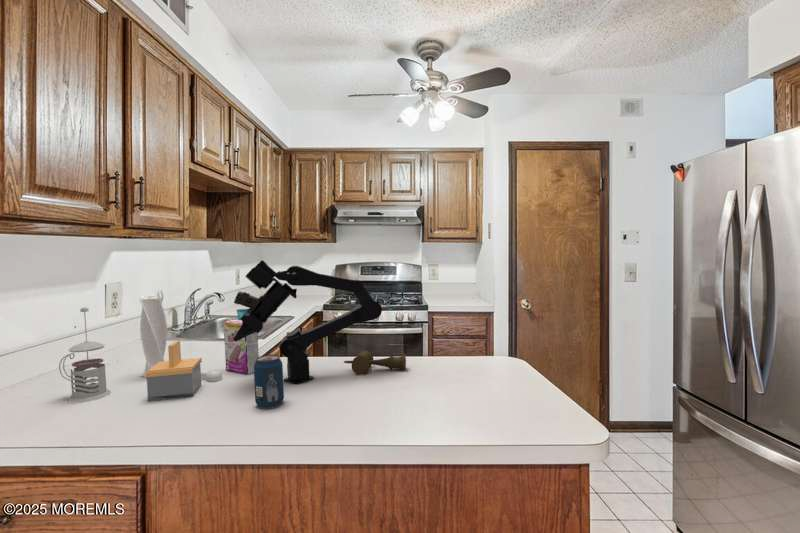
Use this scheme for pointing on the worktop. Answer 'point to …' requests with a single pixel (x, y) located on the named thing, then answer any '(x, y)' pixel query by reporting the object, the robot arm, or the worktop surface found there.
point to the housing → (174, 385)
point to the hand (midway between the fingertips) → (234, 340)
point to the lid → (173, 363)
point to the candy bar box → (239, 349)
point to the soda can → (268, 381)
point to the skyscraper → (153, 330)
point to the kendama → (375, 362)
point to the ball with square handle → (212, 375)
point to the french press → (87, 372)
